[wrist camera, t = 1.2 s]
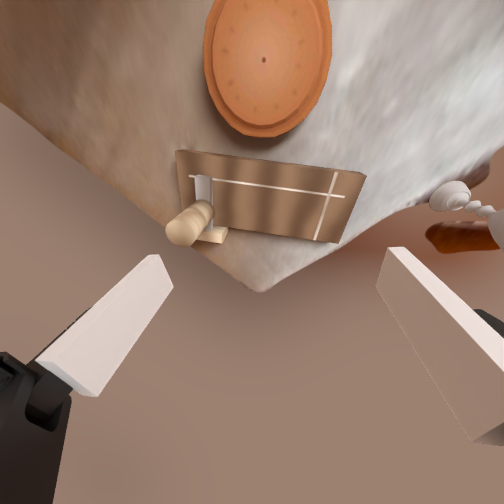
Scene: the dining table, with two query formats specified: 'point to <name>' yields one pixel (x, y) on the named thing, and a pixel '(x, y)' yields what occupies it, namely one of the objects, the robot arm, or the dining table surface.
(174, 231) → the wooden handled tool
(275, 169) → the board
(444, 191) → the chalice
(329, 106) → the dining table surface
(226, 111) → the pie
